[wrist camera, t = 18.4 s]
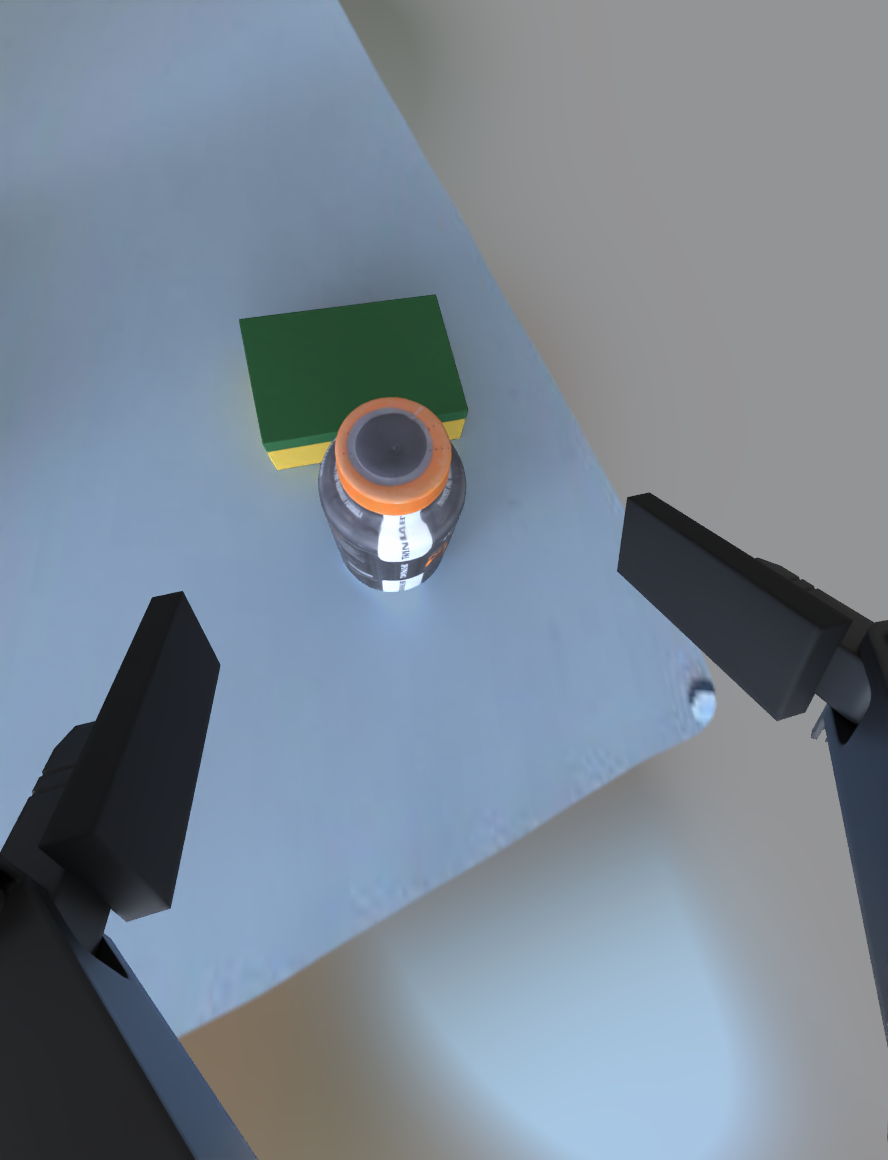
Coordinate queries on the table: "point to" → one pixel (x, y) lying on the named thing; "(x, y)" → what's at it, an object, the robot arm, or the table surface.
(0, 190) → the table surface
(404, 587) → the orange-lidded supplement jar
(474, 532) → the table surface
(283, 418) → the sponge
